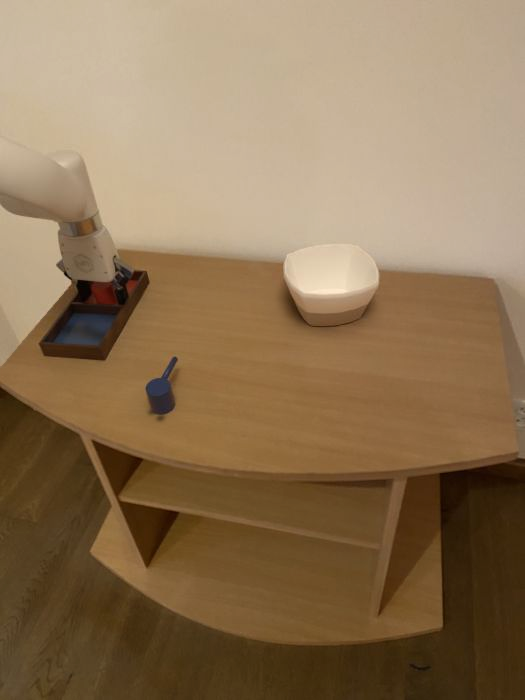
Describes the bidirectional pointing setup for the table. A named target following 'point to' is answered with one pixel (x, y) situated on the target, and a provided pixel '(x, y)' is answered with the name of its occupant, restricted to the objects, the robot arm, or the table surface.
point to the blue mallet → (161, 391)
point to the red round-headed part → (104, 293)
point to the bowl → (331, 282)
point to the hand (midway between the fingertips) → (105, 299)
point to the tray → (92, 323)
